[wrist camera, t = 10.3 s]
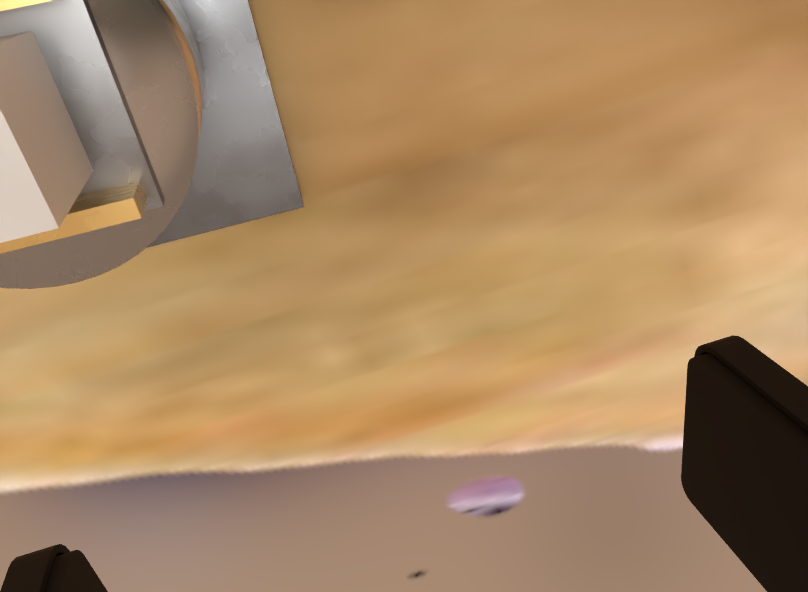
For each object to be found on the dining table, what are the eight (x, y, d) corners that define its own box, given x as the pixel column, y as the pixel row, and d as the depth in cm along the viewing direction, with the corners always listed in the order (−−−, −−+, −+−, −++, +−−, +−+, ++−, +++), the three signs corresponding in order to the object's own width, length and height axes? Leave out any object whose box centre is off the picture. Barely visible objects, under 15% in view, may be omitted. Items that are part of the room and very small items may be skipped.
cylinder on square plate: (191, -205, 30) (169, -315, 17) (301, 198, 40) (336, 308, 27) (-284, -123, 27) (-700, -185, 15) (-39, 285, 37) (-167, 449, 25)
